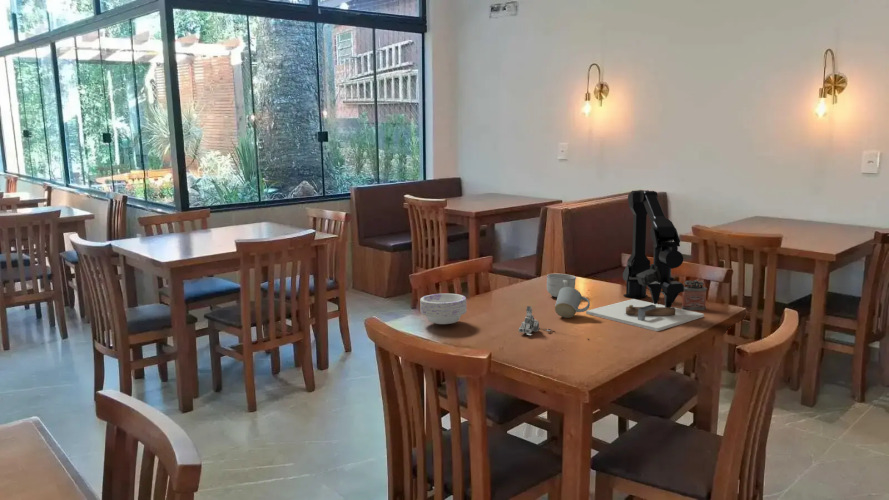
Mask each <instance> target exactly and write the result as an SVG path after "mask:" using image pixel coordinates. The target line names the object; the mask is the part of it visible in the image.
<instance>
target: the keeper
mask: <svg viewBox="0 0 889 500" xmlns="http://www.w3.org/2000/svg"><path fill="white" fill-rule="evenodd" d="M655 308H656V305H649V306H645V307H642V308H638V320H641V321H643V320H645V311H648V310H652V309H655Z"/></svg>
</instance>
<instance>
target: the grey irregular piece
mask: <svg viewBox="0 0 889 500" xmlns="http://www.w3.org/2000/svg"><path fill="white" fill-rule="evenodd" d="M534 316H535V315H533V309H532V306H531V305H530V306H529V305H527V306H526V316H525V317H524V321H522V322H521V325H520V327H518V332H519V333H523V334H526V335H528V336H532V335H533V334H532V332H535V333H536V332H538V331H539V330H540V322H539V320H537V319H535V318H534ZM546 331H547V332H550V331H552V329H550V328H548V329H546Z"/></svg>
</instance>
